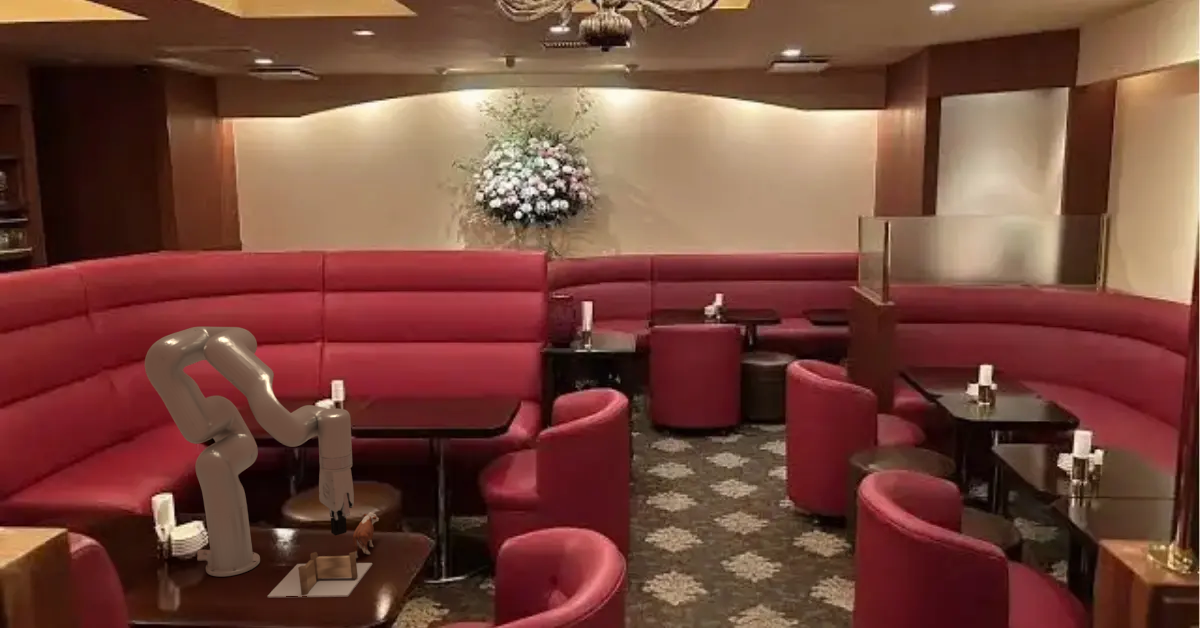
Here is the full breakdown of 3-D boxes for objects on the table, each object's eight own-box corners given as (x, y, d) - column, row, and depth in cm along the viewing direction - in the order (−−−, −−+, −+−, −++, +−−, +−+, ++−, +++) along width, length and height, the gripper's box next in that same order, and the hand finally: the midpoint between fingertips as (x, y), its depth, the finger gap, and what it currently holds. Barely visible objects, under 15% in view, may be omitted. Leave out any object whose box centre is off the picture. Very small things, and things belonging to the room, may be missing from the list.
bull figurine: (383, 538, 248) (380, 509, 246) (366, 560, 234) (362, 529, 233) (367, 539, 248) (364, 509, 247) (348, 561, 235) (345, 529, 233)
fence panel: (311, 579, 223) (309, 555, 222) (314, 576, 225) (311, 552, 224) (356, 578, 223) (353, 553, 221) (358, 575, 224) (356, 550, 223)
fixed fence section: (300, 595, 216) (297, 568, 215) (311, 582, 223) (308, 556, 222) (306, 595, 216) (303, 568, 215) (317, 582, 223) (314, 556, 221)
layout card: (267, 597, 217) (267, 595, 217) (297, 565, 234) (297, 563, 234) (348, 596, 215) (347, 594, 215) (372, 564, 232) (372, 562, 232)
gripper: (308, 456, 230) (311, 527, 233) (334, 472, 218) (337, 547, 222) (337, 449, 234) (340, 520, 238) (364, 465, 223) (367, 539, 226)
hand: (339, 533), depth 230 cm, fingers closed
